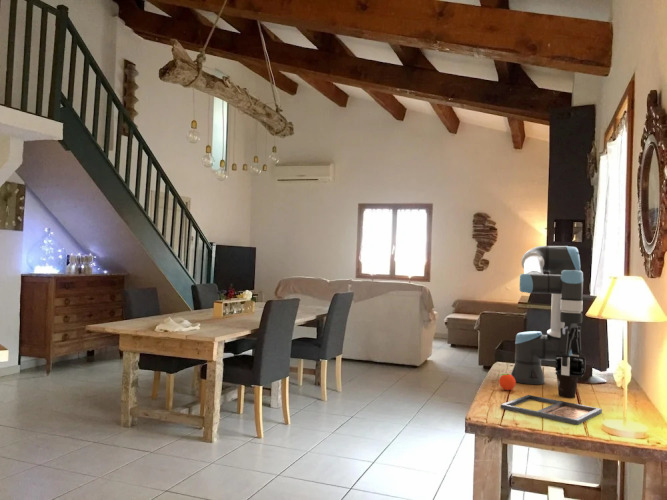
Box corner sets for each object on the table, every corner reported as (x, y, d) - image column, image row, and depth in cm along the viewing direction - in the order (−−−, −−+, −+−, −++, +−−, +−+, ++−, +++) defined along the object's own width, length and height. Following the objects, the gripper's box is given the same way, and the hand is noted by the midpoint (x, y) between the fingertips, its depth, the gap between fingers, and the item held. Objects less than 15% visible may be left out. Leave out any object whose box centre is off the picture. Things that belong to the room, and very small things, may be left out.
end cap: (585, 374, 210) (585, 356, 210) (583, 377, 203) (583, 358, 204) (556, 371, 214) (557, 353, 215) (553, 374, 208) (554, 355, 208)
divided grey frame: (528, 398, 232) (528, 394, 232) (601, 412, 212) (601, 408, 212) (500, 408, 214) (500, 404, 214) (577, 424, 195) (577, 420, 195)
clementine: (495, 390, 245) (496, 374, 245) (496, 387, 252) (497, 371, 252) (515, 392, 242) (515, 375, 243) (515, 389, 249) (516, 372, 249)
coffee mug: (557, 392, 244) (558, 369, 244) (579, 395, 240) (579, 372, 240) (553, 398, 234) (553, 373, 234) (575, 401, 230) (576, 376, 230)
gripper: (571, 309, 220) (570, 368, 219) (549, 312, 204) (548, 375, 204) (591, 311, 214) (590, 371, 214) (570, 314, 199) (569, 378, 199)
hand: (569, 373), depth 209 cm, fingers closed on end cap, 8 cm apart
